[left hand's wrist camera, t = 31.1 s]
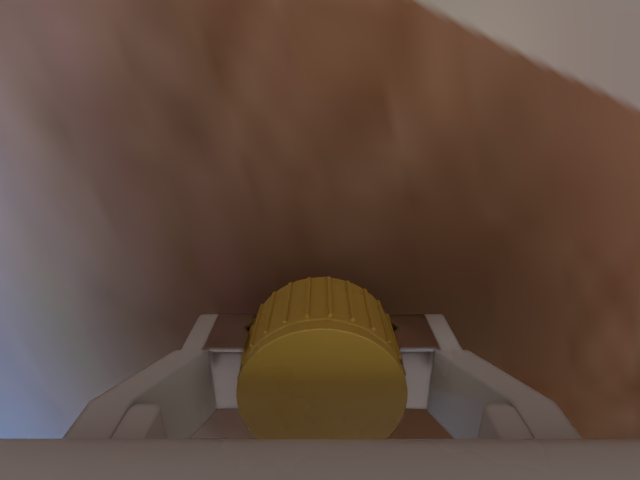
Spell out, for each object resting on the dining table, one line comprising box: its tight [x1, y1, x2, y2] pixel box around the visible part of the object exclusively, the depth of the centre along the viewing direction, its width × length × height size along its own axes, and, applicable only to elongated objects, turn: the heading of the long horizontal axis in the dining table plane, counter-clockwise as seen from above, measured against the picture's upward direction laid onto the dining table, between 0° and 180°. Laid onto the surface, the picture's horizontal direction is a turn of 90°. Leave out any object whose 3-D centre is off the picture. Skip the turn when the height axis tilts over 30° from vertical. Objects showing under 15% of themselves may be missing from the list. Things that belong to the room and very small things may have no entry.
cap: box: [236, 276, 408, 439], centre depth 9 cm, size 4×4×2 cm
